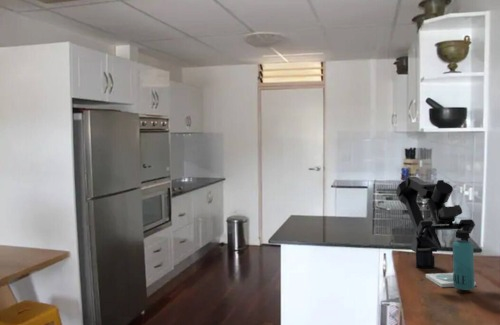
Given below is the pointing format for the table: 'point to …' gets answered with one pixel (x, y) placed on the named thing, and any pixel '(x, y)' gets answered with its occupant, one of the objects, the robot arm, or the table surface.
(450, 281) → the pad
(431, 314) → the table surface
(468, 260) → the beverage bottle
